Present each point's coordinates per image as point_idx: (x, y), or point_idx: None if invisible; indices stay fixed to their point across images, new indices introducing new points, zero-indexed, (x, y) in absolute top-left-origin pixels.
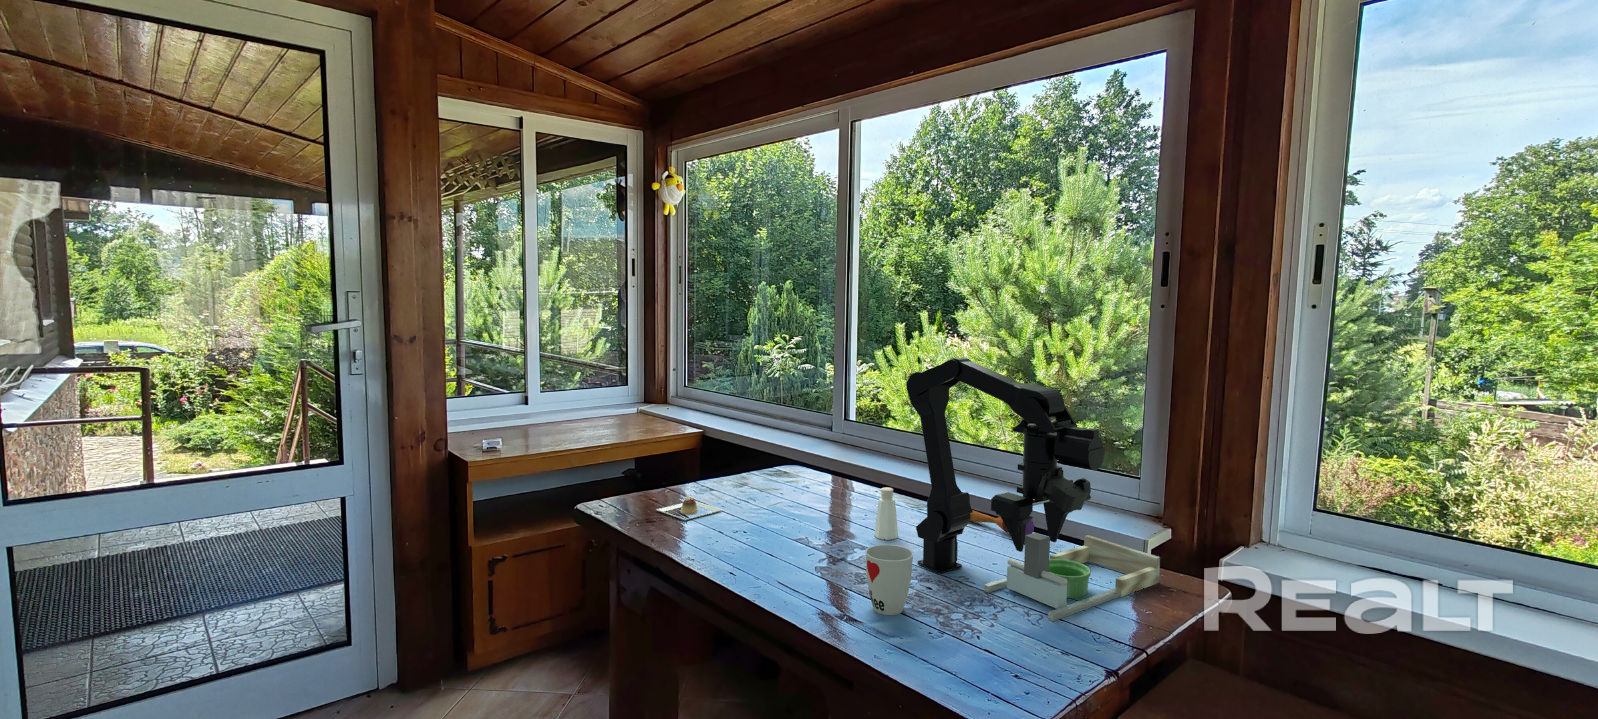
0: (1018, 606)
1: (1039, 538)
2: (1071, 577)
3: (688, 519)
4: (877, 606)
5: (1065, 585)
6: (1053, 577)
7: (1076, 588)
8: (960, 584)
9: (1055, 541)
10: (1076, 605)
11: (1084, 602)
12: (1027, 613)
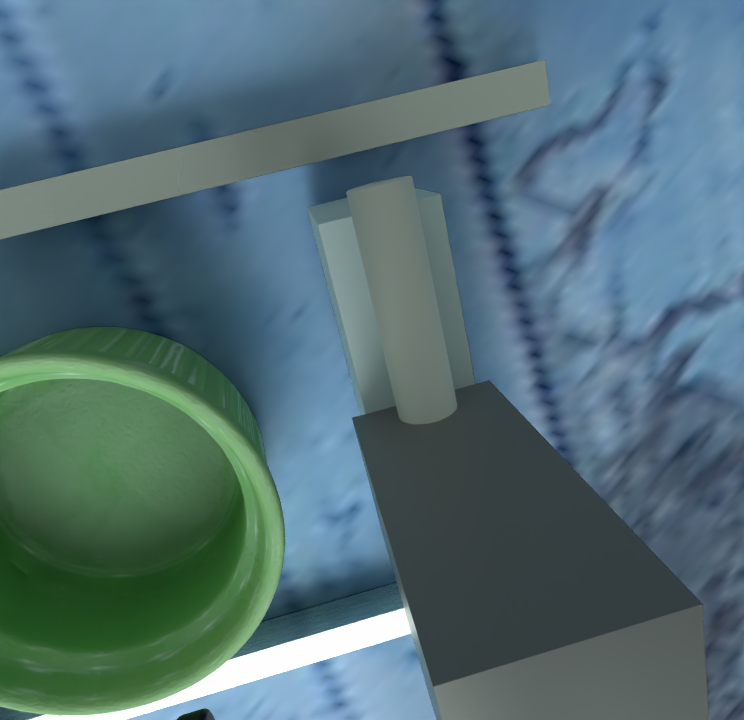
0: (560, 328)
1: (630, 665)
2: (148, 367)
3: None
4: None
5: (370, 183)
6: (432, 288)
7: (111, 340)
8: None
9: (200, 711)
10: (277, 131)
11: (181, 154)
12: (582, 227)
